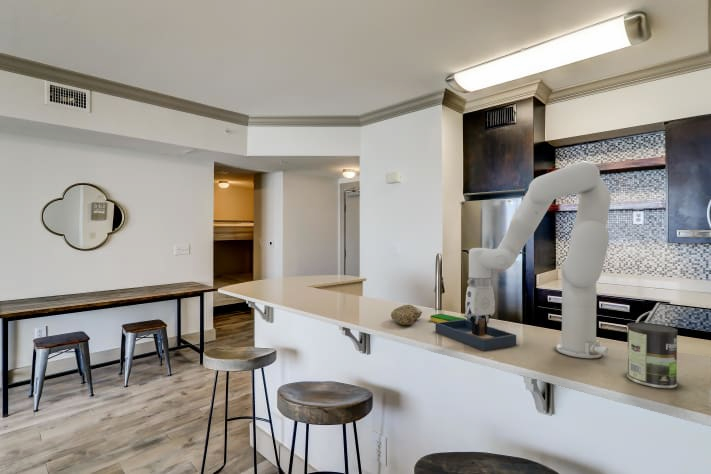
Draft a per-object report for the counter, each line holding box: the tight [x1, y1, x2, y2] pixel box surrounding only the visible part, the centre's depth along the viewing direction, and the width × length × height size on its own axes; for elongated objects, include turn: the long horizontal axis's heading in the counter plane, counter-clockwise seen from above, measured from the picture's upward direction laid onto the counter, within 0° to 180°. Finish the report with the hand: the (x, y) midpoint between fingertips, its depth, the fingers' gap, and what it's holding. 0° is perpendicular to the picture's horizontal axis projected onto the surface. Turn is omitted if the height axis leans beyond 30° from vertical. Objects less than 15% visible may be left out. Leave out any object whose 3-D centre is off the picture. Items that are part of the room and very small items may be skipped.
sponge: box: [390, 304, 423, 326], centre depth 161 cm, size 13×8×20 cm
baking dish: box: [435, 318, 517, 352], centre depth 137 cm, size 26×15×4 cm, turn 25°
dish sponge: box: [429, 313, 467, 323], centre depth 161 cm, size 7×14×2 cm, turn 38°
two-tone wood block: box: [465, 317, 494, 339], centre depth 134 cm, size 9×5×8 cm, turn 25°
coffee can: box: [626, 321, 679, 389], centre depth 98 cm, size 10×10×14 cm
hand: (479, 333), depth 134 cm, fingers closed on two-tone wood block, 2 cm apart
